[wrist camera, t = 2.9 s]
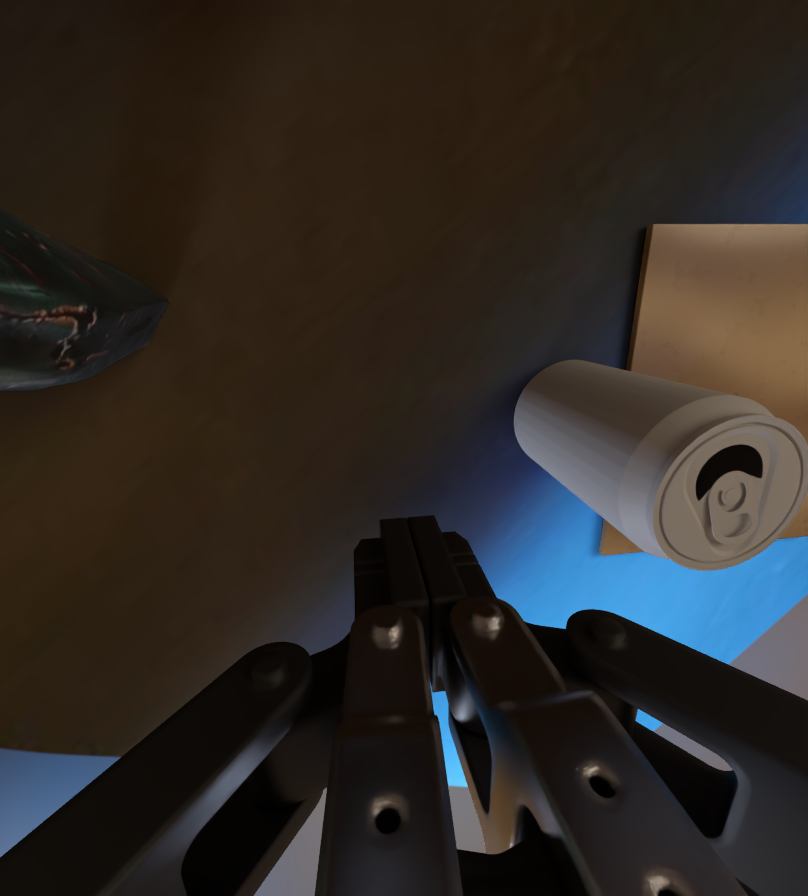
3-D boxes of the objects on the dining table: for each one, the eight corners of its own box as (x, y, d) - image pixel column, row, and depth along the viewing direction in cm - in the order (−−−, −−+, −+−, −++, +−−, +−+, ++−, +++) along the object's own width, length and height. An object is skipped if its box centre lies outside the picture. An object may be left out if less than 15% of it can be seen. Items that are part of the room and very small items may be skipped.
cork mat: (646, 225, 22) (653, 223, 22) (905, 225, 24) (916, 223, 23) (598, 551, 29) (602, 555, 28) (804, 532, 30) (812, 536, 30)
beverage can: (601, 342, 24) (829, 372, 13) (617, 442, 26) (824, 544, 15) (497, 380, 24) (632, 444, 12) (521, 476, 26) (655, 607, 15)
